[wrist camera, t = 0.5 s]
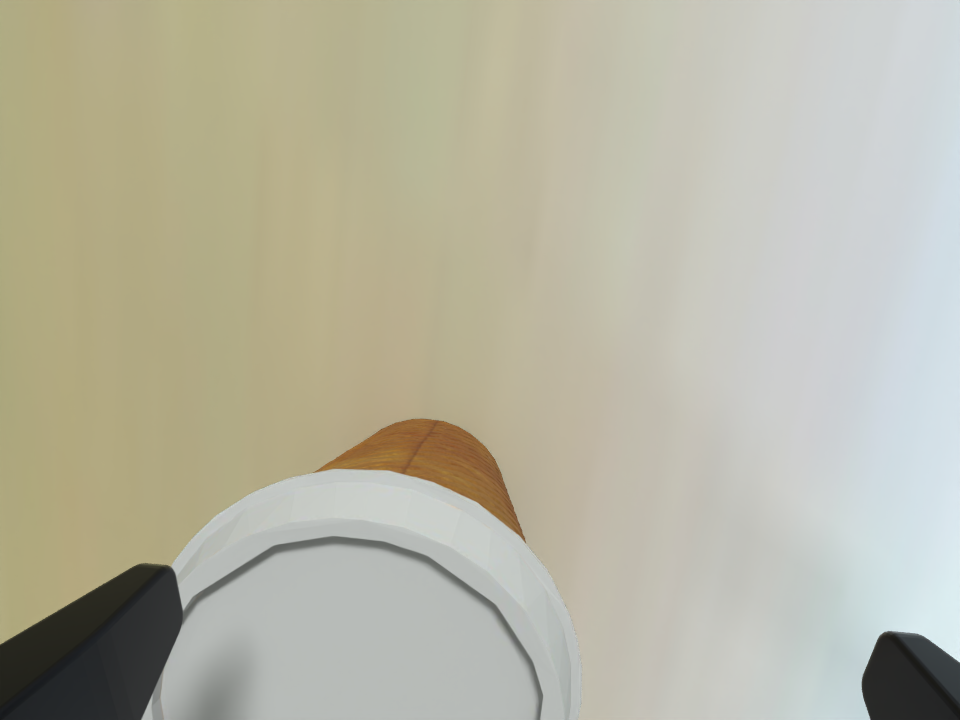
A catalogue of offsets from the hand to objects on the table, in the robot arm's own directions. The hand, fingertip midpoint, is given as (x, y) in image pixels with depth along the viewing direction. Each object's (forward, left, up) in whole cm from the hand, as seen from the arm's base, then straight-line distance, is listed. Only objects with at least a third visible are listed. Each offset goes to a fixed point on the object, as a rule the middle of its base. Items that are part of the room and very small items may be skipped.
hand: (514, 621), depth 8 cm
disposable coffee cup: (-5, 0, -16) cm, 17 cm away
